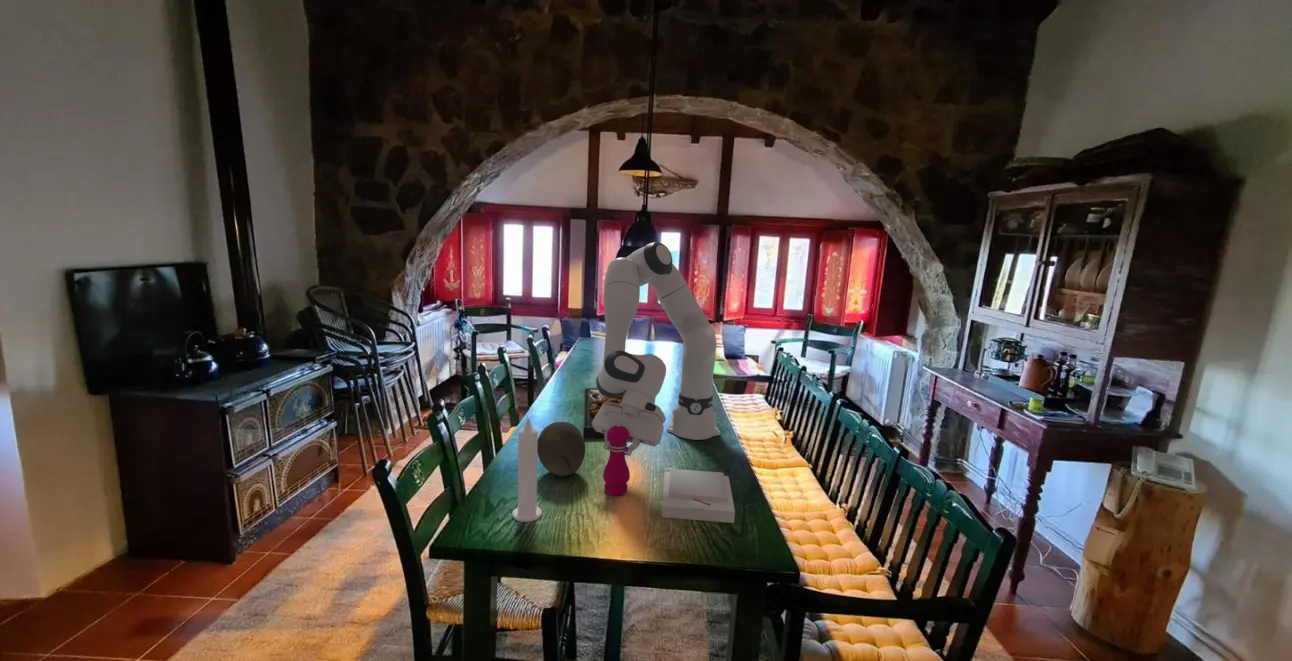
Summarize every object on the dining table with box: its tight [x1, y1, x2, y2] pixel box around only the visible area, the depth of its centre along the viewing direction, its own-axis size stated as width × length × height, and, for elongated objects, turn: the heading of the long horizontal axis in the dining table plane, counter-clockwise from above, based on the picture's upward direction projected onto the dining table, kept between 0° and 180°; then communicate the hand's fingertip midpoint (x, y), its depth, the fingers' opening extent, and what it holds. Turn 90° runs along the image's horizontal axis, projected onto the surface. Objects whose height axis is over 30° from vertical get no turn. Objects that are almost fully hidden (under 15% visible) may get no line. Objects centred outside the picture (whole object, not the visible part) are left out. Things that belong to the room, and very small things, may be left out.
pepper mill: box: [602, 421, 631, 497], centre depth 149 cm, size 7×7×20 cm
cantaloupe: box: [537, 421, 586, 477], centre depth 159 cm, size 14×14×15 cm
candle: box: [511, 417, 543, 523], centre depth 134 cm, size 7×7×25 cm
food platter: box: [582, 387, 624, 439], centre depth 210 cm, size 45×25×10 cm, turn 6°
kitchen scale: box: [661, 468, 736, 524], centre depth 148 cm, size 20×18×4 cm
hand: (616, 451), depth 149 cm, fingers closed on pepper mill, 5 cm apart
